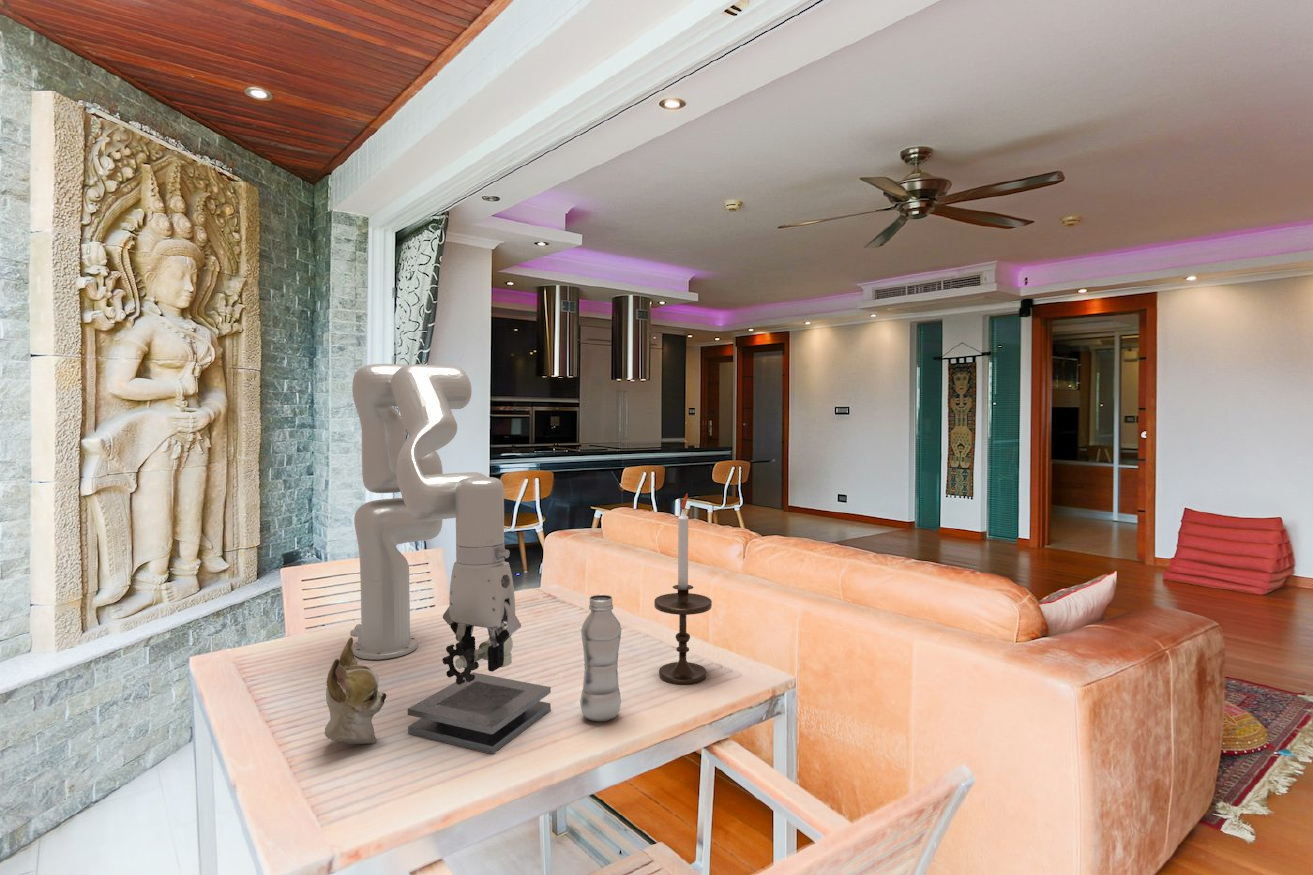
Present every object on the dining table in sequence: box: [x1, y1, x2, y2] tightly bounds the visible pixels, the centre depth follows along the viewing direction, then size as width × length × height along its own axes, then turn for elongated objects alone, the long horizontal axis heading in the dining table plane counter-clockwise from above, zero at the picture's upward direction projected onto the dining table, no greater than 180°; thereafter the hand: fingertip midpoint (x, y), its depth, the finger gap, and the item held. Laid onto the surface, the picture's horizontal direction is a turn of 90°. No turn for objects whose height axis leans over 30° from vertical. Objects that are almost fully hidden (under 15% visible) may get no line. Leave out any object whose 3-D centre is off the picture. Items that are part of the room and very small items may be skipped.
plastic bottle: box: [579, 594, 622, 722], centre depth 113 cm, size 6×7×20 cm
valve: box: [441, 622, 514, 685], centre depth 112 cm, size 7×7×12 cm
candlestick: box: [653, 493, 713, 686], centre depth 130 cm, size 11×11×35 cm
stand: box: [407, 671, 552, 755], centre depth 112 cm, size 16×16×4 cm
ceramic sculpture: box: [324, 636, 387, 745], centre depth 104 cm, size 11×9×15 cm
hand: (481, 664), depth 111 cm, fingers closed on valve, 4 cm apart
